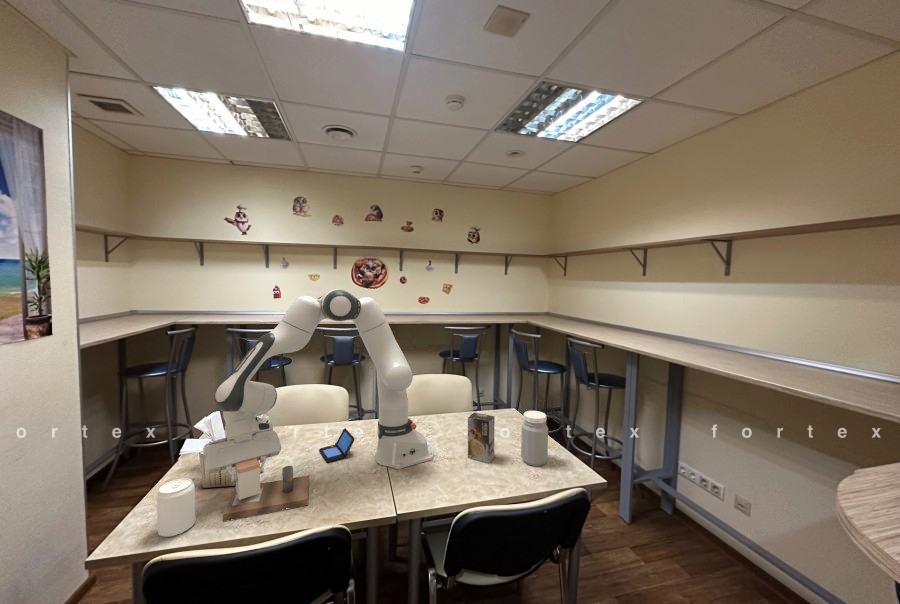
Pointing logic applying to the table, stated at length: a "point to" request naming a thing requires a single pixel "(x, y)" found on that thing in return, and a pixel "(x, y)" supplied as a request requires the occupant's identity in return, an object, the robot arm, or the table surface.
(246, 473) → the white tall block
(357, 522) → the table surface
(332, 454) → the handheld game console
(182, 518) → the white cylinder
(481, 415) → the coffee box
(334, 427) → the table surface
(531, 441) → the jar
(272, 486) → the board
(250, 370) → the robot arm
